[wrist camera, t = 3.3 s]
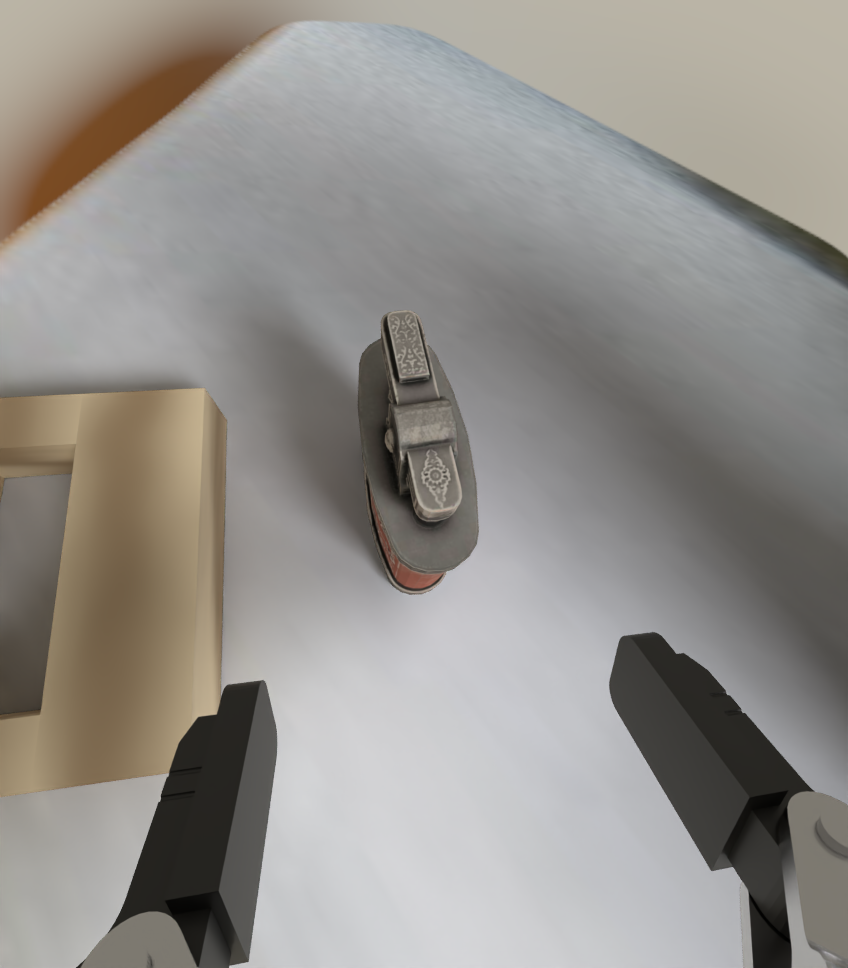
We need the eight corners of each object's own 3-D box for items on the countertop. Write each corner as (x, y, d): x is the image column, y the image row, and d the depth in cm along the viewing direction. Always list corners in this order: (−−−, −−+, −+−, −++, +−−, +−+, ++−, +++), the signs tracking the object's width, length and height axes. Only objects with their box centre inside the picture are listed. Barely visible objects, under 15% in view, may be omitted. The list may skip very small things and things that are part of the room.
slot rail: (227, 420, 22) (204, 388, 19) (219, 749, 18) (188, 769, 15) (-105, 439, 20) (-183, 406, 18) (-202, 807, 16) (-326, 843, 13)
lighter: (458, 586, 21) (524, 542, 11) (383, 601, 20) (386, 568, 11) (422, 424, 23) (452, 275, 14) (354, 434, 22) (336, 286, 13)
